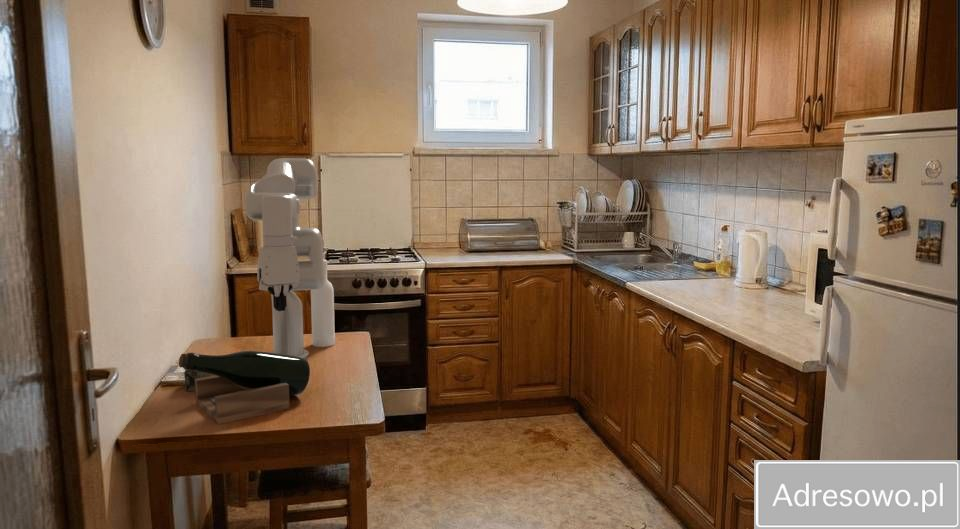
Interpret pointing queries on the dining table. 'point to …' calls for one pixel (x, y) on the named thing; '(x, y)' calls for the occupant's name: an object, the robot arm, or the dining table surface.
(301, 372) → the beer bottle
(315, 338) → the bottle
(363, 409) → the dining table surface
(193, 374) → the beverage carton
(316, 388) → the dining table surface
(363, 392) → the dining table surface
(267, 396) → the cradle
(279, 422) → the dining table surface
